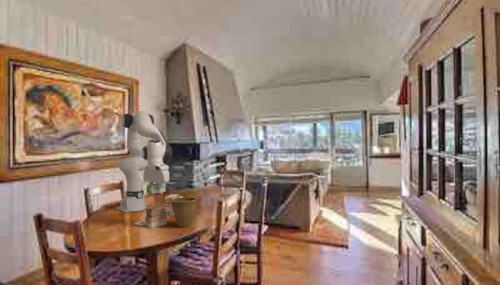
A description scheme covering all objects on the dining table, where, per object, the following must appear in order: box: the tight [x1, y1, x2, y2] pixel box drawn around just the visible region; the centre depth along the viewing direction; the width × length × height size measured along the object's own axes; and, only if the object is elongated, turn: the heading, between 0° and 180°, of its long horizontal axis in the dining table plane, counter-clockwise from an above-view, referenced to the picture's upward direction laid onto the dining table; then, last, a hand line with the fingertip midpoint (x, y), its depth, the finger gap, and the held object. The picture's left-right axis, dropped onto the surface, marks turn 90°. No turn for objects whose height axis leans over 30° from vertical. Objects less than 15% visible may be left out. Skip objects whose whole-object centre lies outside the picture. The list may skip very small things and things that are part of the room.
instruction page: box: [133, 220, 145, 226], centre depth 199 cm, size 7×9×1 cm
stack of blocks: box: [163, 193, 184, 216], centre depth 228 cm, size 21×6×12 cm, turn 173°
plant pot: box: [171, 196, 198, 228], centre depth 191 cm, size 15×15×16 cm
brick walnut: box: [145, 204, 165, 218], centre depth 193 cm, size 5×10×5 cm, turn 145°
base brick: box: [144, 214, 168, 229], centre depth 193 cm, size 6×11×6 cm, turn 144°
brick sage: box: [146, 182, 167, 195], centre depth 193 cm, size 5×10×5 cm, turn 144°
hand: (156, 189), depth 193 cm, fingers closed on brick sage, 5 cm apart
